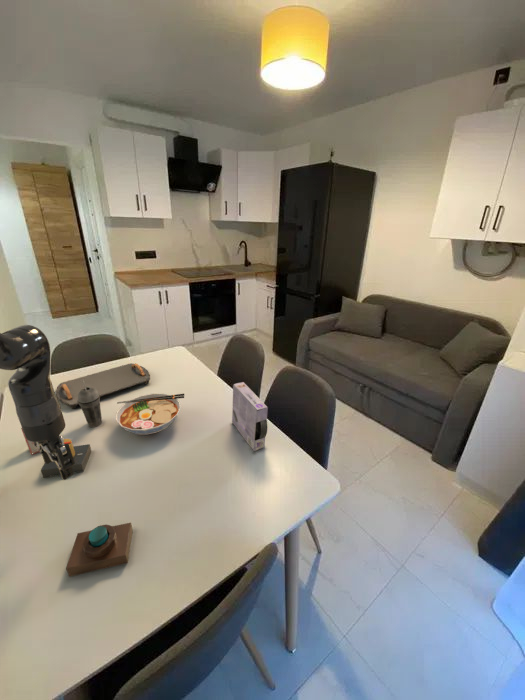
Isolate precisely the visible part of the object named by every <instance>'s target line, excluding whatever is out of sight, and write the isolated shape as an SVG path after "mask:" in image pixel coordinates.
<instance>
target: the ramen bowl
mask: <svg viewBox="0 0 525 700" xmlns="http://www.w3.org/2000/svg"><path fill="white" fill-rule="evenodd" d="M179 399H185V393H177V394H167V393H149V394H142V395H139V396H137V397H135V398H131V399H129V400H123V401H118V402H117V403H116V404H122V405H121V406H120V408H119V409H118V410H117V412H116V413H115V414H116V415H115V421H116V422H117V423H118V424H119V426H120V427H121V428H122V429H123V430H125V431H126V432H130V433H132V434H135V435H145V436H147V435H151V434H152V435H153V434H156V433H159V432H161V431H163V430H165V429H167V428H168V427H169V426H170V425H171V424H172V423H173V422H175V420H176V418H177V417H178V415H179V412H180V410H181V408H182V406H181V403H180V400H179Z"/></svg>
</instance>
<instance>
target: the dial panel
mask: <svg viewBox="0 0 525 700" xmlns="http://www.w3.org/2000/svg"><path fill="white" fill-rule="evenodd" d="M73 447H74V451H75V456H74V457H73V459H74V461H75V465H73V466H71V467H72V471H73V474H75V473H81V472H85V469H86V466H87V464H88V461H89V459H90V456H91V454H92V448H91V444H89V443H87V444H79V445H73ZM55 456H56V454H55ZM40 472H41V475H42V477H43V478H49V477H50V478H51V477H56V476H61V474H60V471H59V468H58V466H57V464H56V463H55V461H52V462H50V463H49V464H46V463H45V462H44V464H43V466H42V467H41V468H40Z"/></svg>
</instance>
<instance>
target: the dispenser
mask: <svg viewBox="0 0 525 700" xmlns="http://www.w3.org/2000/svg"><path fill="white" fill-rule="evenodd" d="M99 526H104V527H105V528H106V530H107V533H108V539H107V541H106V542H105V543H104V544H103V545H101V546H99V547H93V546H91V543H90V540H89V534H90V533H91V531H92V530H93V529H95V528H96V527H94V528H93V529H91V530H87V531H82V532H78V533H76V536H75V540H74V542H73V547H72V548H71V553H70V555H69V558H68V561H67V564H66V568H65V569H66V572H67V575H68V577H69V578H70V577H74V576H78V575H82V574H86V573H91V572H96V571H100V570H103V569H104V570H105V569H107V568H112V567H116V566H120V565H121V566H122V565H125V564H128V563H129V558H130V551H131V545H132V539H133V538H132V537H133V532H134V529H133V525H132V522H127V523H121V524H117V525H109V524H102V525H101V524H100V525H98V526H97V527H99Z"/></svg>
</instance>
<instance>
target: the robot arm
mask: <svg viewBox="0 0 525 700" xmlns="http://www.w3.org/2000/svg"><path fill="white" fill-rule="evenodd" d="M0 370H3V371H15V372H14V373H13V374H12V375H11V376H10V377H9V379H8V382H7V387H8V390H9V392H10V393H9V394H10V395H11V398H12V400H13V403H14V406H15V413H16V416H17V419H18V420H19V425H20V427H21V428H22V429H23V432H24V435H25V437H26V439H27V440H29V441H31V442H34V445H35V446H36V447H37V448H38V450H39V451H40V452H39V453H41V456H42V460H43V461H44V463H46V464H49V463H50V462H52V461H55V463H56V464H57V466H58V468H59V471H60V474H61V475H60V477H61V479H62V480H63V481H66V480H68V479H69V478H71V477H73V476H74V473H73V471H72V467H71V466H73V465H75V461H74V459H73V456H72V453H71V450H70V447H69V444H67V443H66V444H64V440H63V439H64V438H63V437H62V435H61V434H62V432H63V431H64V430H65V429H66V421H65V417H64V414H63V411H62V408H61V407H62V406H61V404H60V400H58V399H57V397H56V391H55V389H54V386H53V383H52V379H51V346H50V341H49V339H48V337H47V335H46V334H45V333H44V331H42V330H41V329H40V328H38V327H37V326H35V325H31V324H23V325H19V326H15V327H14V328H11V329H10V330H7V331H6V330H5V331H4V332H2V333H1V332H0ZM22 429H21V430H22ZM23 432H22V433H23ZM24 435H23V436H24ZM25 437H24V438H25ZM55 454H56V455H57V456H55Z"/></svg>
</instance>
